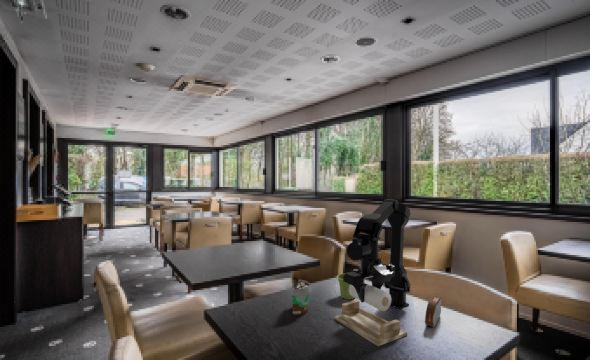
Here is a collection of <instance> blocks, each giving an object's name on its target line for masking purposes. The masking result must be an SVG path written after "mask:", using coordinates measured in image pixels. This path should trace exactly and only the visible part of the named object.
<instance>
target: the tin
mask: <svg viewBox="0 0 590 360" xmlns="http://www.w3.org/2000/svg"><path fill="white" fill-rule="evenodd" d="M442 300H443V298H442V296H439V295H437V294H432V296H431V298H429V301H428V302H427V306H426V310H425V317H424V321H425V322H424V324H425V326H429V327H432V328H435V327H436V325H437V323H438V321H439V320H440V318H441V317H440V316H441V313H442V302H443V301H442Z"/></svg>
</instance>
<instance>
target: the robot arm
mask: <svg viewBox="0 0 590 360" xmlns="http://www.w3.org/2000/svg"><path fill="white" fill-rule="evenodd" d="M410 217H411V210H410V208H409V207H408V206H407V205H406V204H405V203H402V202H399V201H398V200H396V199H391V198H390V199H388V198H387V199H384V200H382V203H381V204H380V205H379V206H378V207H377V208H376V209H375V210H374V211H373V212H372V213H370V214H365V215H363V216H361V217H360V218H359V219H358V220H357V223H356V226H355V229H354V231H353V235H352V239H351V240H352V241H351V243H349V244H348V245H347V248H346V253H347V254H346V255H347V256H348V257H349V259H350V260H352V261H355V262H356V261H360V267H359V268H357V271H358V272H359V273H357V272H355V271H349V272H344V273H345V274H344V273H343V274H344V275H343V281H344V282H346V283H348V284H350V285H353V286H354V288H355V290H356V292H357V294H358V296H359V299H360V300H359V299H358V300H359V302H361V303H365V302H364V294H365V287H366V286H367V284H368V283H366V282H365V280H366V279H370V280H371V286H374V287H376V288H378V289H381V290H382V287H383V284H384V287H385V289H388V293H389V294H390V295H391V304H390V306H392V307H393V308H396V309H401V308H405V307H407V306H410V304H409V303H408V302H407V293H410V292H411V282H410V280H409V279H408V275H407V270H406V269H405V267H404V265H403V263H404V262H403V261H404V238H405V228H406V226H407V224H408V223H409V221H410V219H409V218H410ZM386 220H387V222H388V224H389V225H390V227H391V232H390V253H389V254H390V256H389V257H390V258H389V264H387V265H386V264H384V265H383V264H382V258H380V257H379V241H380V240H381V237H380V234H381V233H382V230H383V229H384V226H383V224H384V222H385V221H386ZM365 283H366V284H365Z"/></svg>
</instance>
